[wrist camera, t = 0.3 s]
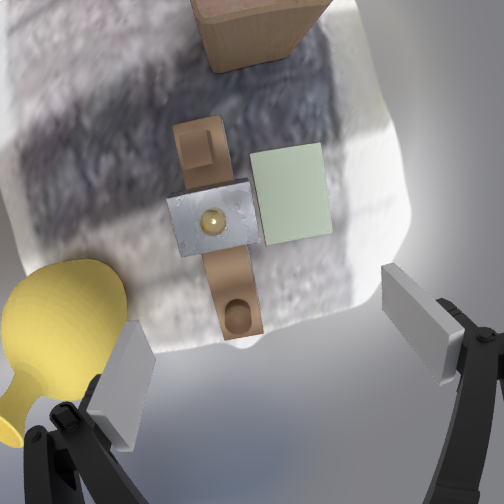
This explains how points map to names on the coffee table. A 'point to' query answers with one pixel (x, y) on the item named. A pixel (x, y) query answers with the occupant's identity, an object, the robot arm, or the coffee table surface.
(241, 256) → the body
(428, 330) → the robot arm
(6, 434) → the vase
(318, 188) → the felt mat
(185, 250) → the lever cap
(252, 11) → the wooden block
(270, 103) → the coffee table surface
